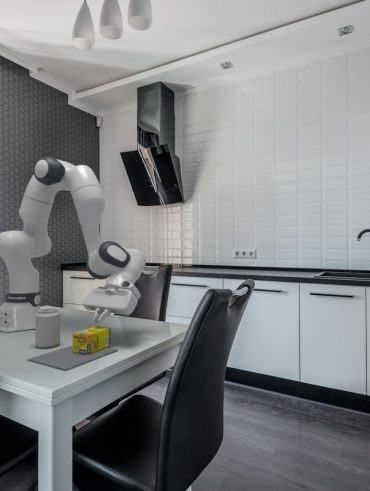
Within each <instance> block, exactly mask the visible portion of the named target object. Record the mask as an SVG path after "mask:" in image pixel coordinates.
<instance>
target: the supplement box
mask: <svg viewBox="0 0 370 491" xmlns="http://www.w3.org/2000/svg"><path fill="white" fill-rule="evenodd" d="M111 340H112V339H111V327H104V326H98V325H96V326H92V327H90V328H86V329H83V330H79V331H77V332H73V333H72V345H73V347H72V348H73V353H80V354H84V355H88V354H91V353H93V352H96V351H98V350H101V349H103V348H106V347H108V348H109V347H110V346H111Z"/></svg>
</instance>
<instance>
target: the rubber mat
mask: <svg viewBox="0 0 370 491" xmlns="http://www.w3.org/2000/svg"><path fill="white" fill-rule="evenodd" d="M72 347H73V344H72V345H69V346H66V347H63V348H60V349H59V348H58V349H56V350H53V351H50V352H46V353H43V354H40V355H36V356H34V357H30V358H28V359H27V361H29V362H31V363H35V364H39V365H42V366H47V367H49V368H53V369H57V370H60V371H65V372H67V371H70V370H72V369H75V368H77V367H79V366H82V365H86V364H87V363H91V362H93V361H95V360H97V359H101V358H103V357H106V356H109V355H111V354H114V353H117V352H118V351H119V349H117V348H112V347H109V346H108V347H106V348H103V349H101V350H98V351H96V352H93V353H91V354H88V355H84V354H80V353H73V348H72Z"/></svg>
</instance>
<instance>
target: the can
mask: <svg viewBox="0 0 370 491" xmlns="http://www.w3.org/2000/svg"><path fill="white" fill-rule="evenodd" d="M34 330H35V332H34V333H35V342H34V343H35V344H34V345H35V346H36V347H38V349H51V348H52V349H53V348H54V347H57V346H58V345H59V344H60V342H61V313H60V311H59V309H58V308H57V307H48V308H47V307H46V308H45V307H44V308H40V310H38V313H37V314H36V315H35V328H34Z"/></svg>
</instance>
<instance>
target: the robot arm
mask: <svg viewBox="0 0 370 491" xmlns="http://www.w3.org/2000/svg"><path fill="white" fill-rule="evenodd" d="M60 191H62V192H63V193H70V195H71V197H72V198H71V199H72V200H73V204H74V207H75V210H76V213H77V218H78V222H79V226H80V230H81V235H82V239H83V243H84V246H85V251H86V255H87V256H86V271H87V273H88V274H89V276H91V277H92V278H93V279H97V280H100V281H101V280H106V279H107V281H106V283H105V284H104V286H97V287H96V288H93V289H92V290H90V292H89V293H88V294H87V295H86V296H85V297H84V298H83V300H82V306H83V307H84V309H85V310H87V311H93V312H95V314H94V317H93V319H92V321H93V322H94V323H98V324H103V323H104V321H105V320H106V319H107V318H109V317H110V316H111V314H115V315H121V316H130V315H131V314H132V313H133V312H134V310H135V309H136V307H137V304H138V300H139V299H140V298H141V297H142V296H141V292H140V291H139V289H138V288H137V287H136V286H135V283H136V282H137V281H138V280H139V278H140V277H141V275H142V273H143V272H144V269H145V266H146V263H147V262H146V260H147V259H146V256H145V254H144V253H143V252H142V251H141V250H139V249H137V248H134V247H132V248H128V247H125V246H123V245H121V244H119V243H118V242H116V241H113V240H107V241H104V242H102V239H101V234H100V223H101V218H102V215H103V213H104V210H105V206H106V202H105V196H104V193H103V190H102V187H101V185H100V182H99V180H98V178H97V176H96V174H95V172H94V171H93V169H92V168H91V167H89V166H88V165H85V164H78V165H74V164H73V163H70V162H69V161H64V160H61V159H57V158H55V157H53V156H43V157H42V156H41V157H39V159H37V160H36V162H35V164H34V166H33V175H32V176H31V178H30V180H29V182H28V184H27V186H26V188H25V191H24V194H23V196H22V200H21V203H20V207H19V211H18V214H19V217H20V219H21V220H22V221H23V229H22V230H13V229H12V230H7V231H3V232H0V258H1V259H2V260H3V261H4V263H5V266H6V268H7V271H8V272H7V273H8V283H9V284H8V285H9V286H8V287H9V288H8V291H9V292H8V293H7V294H2V295H3V297H2V298H3V299H4V298H5V300H4V302H3V303H2V304H1V305H0V332H4V333H5V332H6V333H14V332H18V331H27V330H35V315H36V314H37V313H38V310H40V309H41V305H40V304H41V291H40V272H39V271H38V269H37V268H36V267H34V264H33V262H32V259H33V258H40V257H43V256H46V255H47V254H49V253H50V252H51V249H52V246H53V244H52V240H51V238H50V236H49V234H48V223H49V217H50V214H51V211H52V207H53V204H54V201H55V198H56V194H58V192H60Z"/></svg>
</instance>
